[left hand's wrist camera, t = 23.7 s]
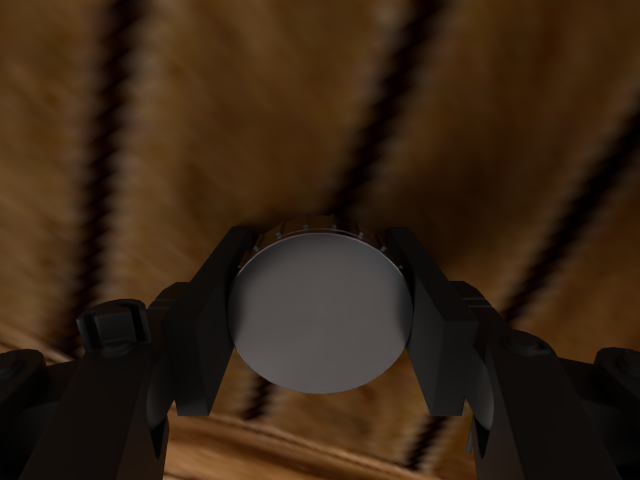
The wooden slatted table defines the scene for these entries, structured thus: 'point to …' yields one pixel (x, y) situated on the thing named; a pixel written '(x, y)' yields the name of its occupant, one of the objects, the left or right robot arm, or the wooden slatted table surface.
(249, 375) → the wooden slatted table surface
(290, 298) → the lid
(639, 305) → the wooden slatted table surface
